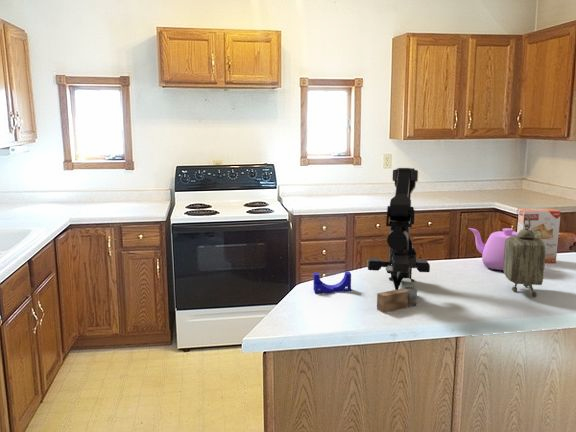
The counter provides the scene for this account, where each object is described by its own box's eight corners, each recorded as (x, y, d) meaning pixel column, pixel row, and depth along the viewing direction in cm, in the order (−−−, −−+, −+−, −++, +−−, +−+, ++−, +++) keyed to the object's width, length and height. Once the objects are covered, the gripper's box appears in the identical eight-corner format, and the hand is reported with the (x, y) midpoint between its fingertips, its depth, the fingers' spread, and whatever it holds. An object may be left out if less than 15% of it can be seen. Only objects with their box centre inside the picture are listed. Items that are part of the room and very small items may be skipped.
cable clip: (315, 294, 167) (315, 276, 166) (313, 290, 172) (313, 272, 171) (351, 293, 168) (352, 275, 167) (349, 288, 172) (349, 271, 171)
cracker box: (520, 263, 202) (524, 210, 198) (514, 259, 208) (517, 208, 204) (557, 263, 201) (561, 210, 198) (550, 259, 207) (554, 208, 204)
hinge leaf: (417, 306, 154) (418, 291, 153) (404, 306, 154) (405, 290, 153) (410, 292, 167) (410, 278, 166) (398, 292, 167) (398, 278, 166)
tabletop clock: (541, 299, 160) (548, 220, 156) (510, 297, 162) (516, 219, 157) (530, 285, 174) (535, 212, 170) (501, 284, 176) (506, 211, 171)
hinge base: (410, 302, 158) (411, 286, 158) (419, 305, 155) (419, 289, 154) (376, 309, 153) (376, 292, 152) (384, 313, 149) (384, 296, 148)
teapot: (535, 263, 201) (538, 225, 199) (524, 276, 184) (527, 235, 182) (475, 255, 214) (477, 220, 212) (460, 267, 197) (462, 228, 195)
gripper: (370, 247, 153) (368, 298, 155) (434, 250, 151) (431, 300, 154) (367, 239, 164) (365, 286, 166) (427, 241, 162) (424, 289, 165)
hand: (396, 291), depth 163 cm, fingers closed
